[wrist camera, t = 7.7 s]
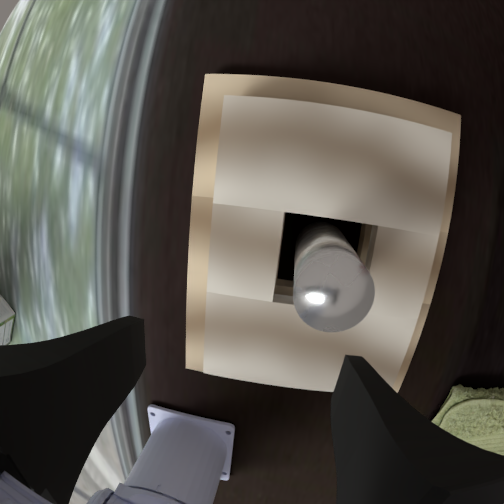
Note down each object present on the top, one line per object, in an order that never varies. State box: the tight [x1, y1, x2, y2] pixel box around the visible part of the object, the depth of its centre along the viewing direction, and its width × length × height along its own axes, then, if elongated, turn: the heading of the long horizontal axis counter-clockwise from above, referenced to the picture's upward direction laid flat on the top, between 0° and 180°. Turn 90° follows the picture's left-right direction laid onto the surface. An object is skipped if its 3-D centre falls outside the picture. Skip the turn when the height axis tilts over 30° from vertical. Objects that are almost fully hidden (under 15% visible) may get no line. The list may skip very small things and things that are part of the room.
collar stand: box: [186, 74, 461, 393], centre depth 17 cm, size 20×16×4 cm
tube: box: [293, 222, 375, 332], centre depth 15 cm, size 3×3×8 cm
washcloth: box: [431, 385, 504, 455], centre depth 20 cm, size 13×18×3 cm
